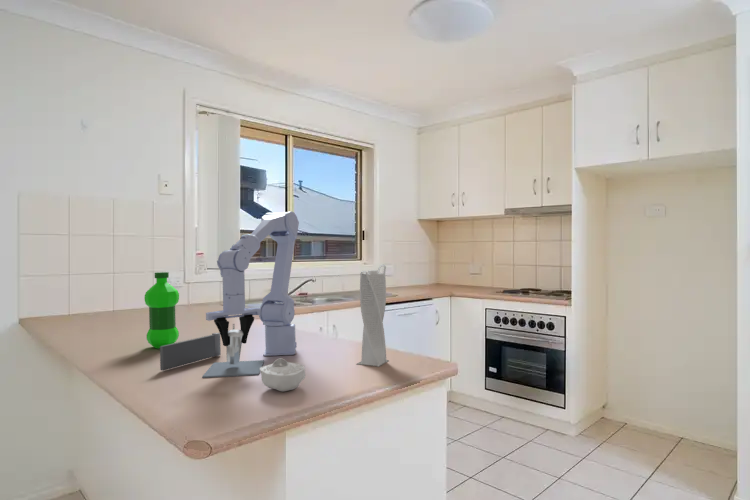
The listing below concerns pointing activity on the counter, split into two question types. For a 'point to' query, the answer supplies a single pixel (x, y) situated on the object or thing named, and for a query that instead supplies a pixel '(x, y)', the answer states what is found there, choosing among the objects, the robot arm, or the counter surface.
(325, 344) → the counter surface
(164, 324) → the plastic bottle
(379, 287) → the skyscraper
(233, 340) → the milkshake
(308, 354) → the counter surface
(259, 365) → the mat
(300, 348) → the counter surface
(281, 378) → the cell model
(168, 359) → the grey rectangular panel
